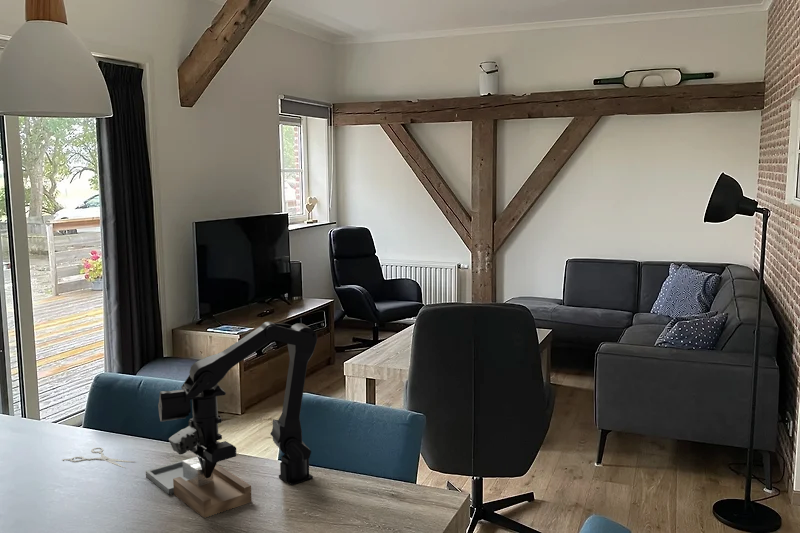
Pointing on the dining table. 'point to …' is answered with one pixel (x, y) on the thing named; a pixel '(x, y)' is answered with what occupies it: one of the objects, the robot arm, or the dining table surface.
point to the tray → (166, 476)
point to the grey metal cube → (187, 466)
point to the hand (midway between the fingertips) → (207, 477)
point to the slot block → (213, 493)
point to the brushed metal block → (199, 475)
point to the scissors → (99, 458)
